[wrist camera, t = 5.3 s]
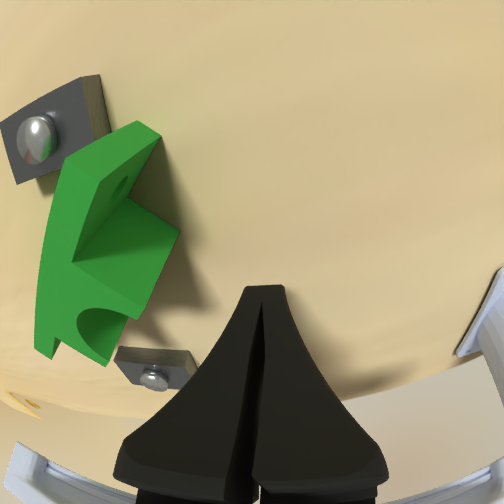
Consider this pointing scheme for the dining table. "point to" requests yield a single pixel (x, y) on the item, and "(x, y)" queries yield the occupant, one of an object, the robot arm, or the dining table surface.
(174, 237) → the pipe clamp
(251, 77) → the dining table surface
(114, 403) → the dining table surface
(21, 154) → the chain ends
